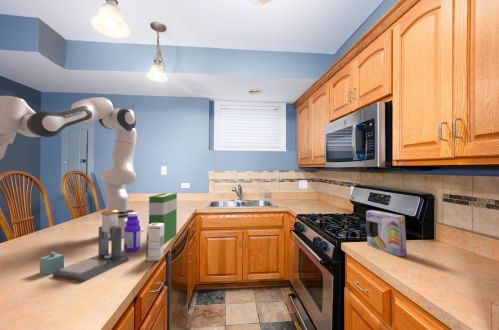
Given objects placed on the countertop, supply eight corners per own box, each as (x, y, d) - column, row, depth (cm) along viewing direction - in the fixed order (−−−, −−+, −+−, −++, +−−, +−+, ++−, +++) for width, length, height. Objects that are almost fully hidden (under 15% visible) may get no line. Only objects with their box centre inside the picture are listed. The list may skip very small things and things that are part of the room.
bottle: (142, 249, 111) (143, 212, 111) (132, 253, 106) (132, 214, 106) (132, 247, 114) (132, 211, 114) (121, 251, 109) (121, 213, 109)
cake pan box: (364, 244, 120) (364, 209, 120) (372, 243, 121) (372, 208, 121) (398, 257, 101) (398, 216, 102) (407, 256, 103) (407, 216, 103)
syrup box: (150, 256, 102) (150, 222, 103) (164, 255, 103) (164, 222, 103) (145, 261, 97) (146, 226, 97) (160, 260, 97) (160, 225, 97)
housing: (54, 267, 90) (54, 249, 90) (63, 269, 89) (64, 250, 89) (39, 273, 86) (39, 254, 86) (49, 275, 84) (49, 255, 84)
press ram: (110, 237, 101) (111, 208, 101) (122, 238, 99) (122, 209, 99) (97, 241, 95) (97, 211, 95) (109, 243, 93) (109, 212, 93)
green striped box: (163, 234, 135) (164, 193, 136) (176, 235, 135) (176, 193, 135) (148, 244, 118) (149, 196, 118) (163, 245, 117) (163, 196, 118)
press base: (103, 256, 102) (103, 224, 102) (129, 260, 98) (129, 226, 98) (52, 276, 83) (53, 236, 83) (81, 282, 79) (82, 240, 79)
